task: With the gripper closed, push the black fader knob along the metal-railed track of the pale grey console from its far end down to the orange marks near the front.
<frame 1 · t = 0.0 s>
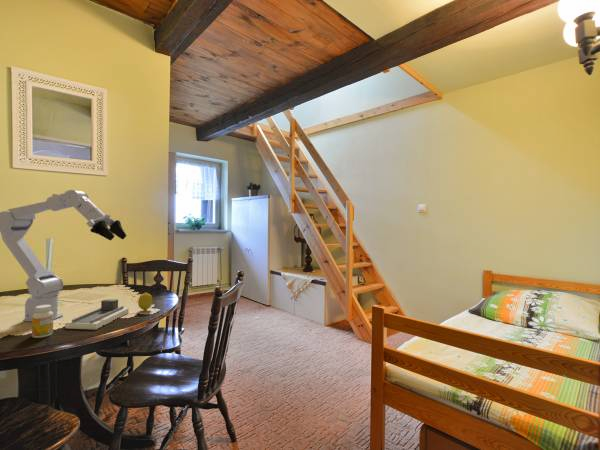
hand: (118, 237, 117), 32 cm above the table, tool tilted 50°, fingers open, 7 cm apart
fader knob: (109, 304, 125), point 4 cm above the table, slide at 0.0 cm
supplement bottle: (42, 335, 102), on the table
yellow oval piece: (145, 311, 133), on the table
fader console: (99, 320, 119), on the table
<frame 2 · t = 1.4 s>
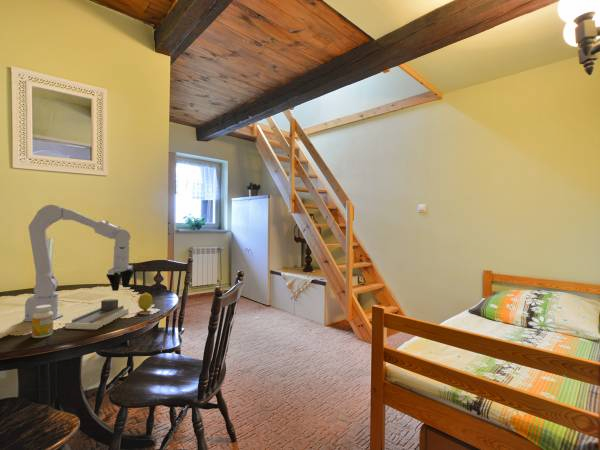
hand: (120, 288, 132), 9 cm above the table, tool pointing down, fingers open, 7 cm apart
nothing on the table moved.
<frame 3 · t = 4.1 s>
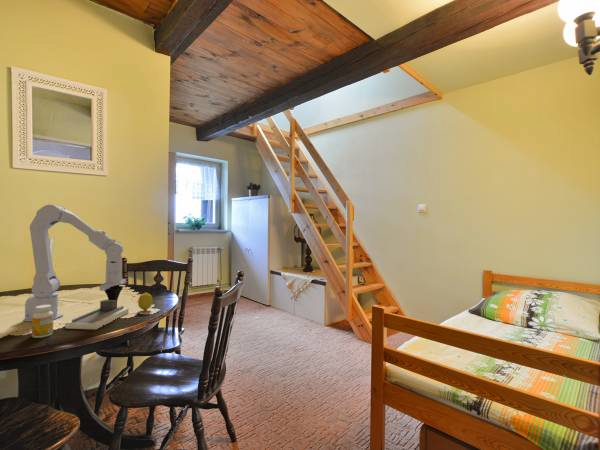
hand: (112, 304, 127), 4 cm above the table, tool pointing down, fingers closed
fader knob: (108, 305, 124), point 4 cm above the table, slide at 0.6 cm, touching gripper
everything else where it was.
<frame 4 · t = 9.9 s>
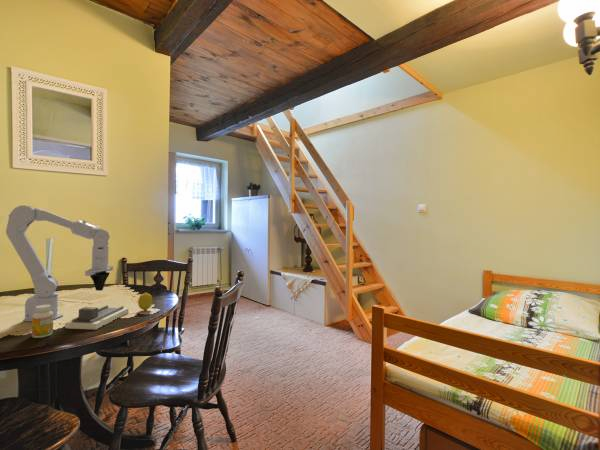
hand: (99, 290, 128), 9 cm above the table, tool pointing down, fingers closed
fader knob: (88, 313, 112), point 4 cm above the table, slide at 12.3 cm
everything else where it was.
at the end: fader knob slide at 12.3 cm; supplement bottle moved 0.2 cm from its start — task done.
